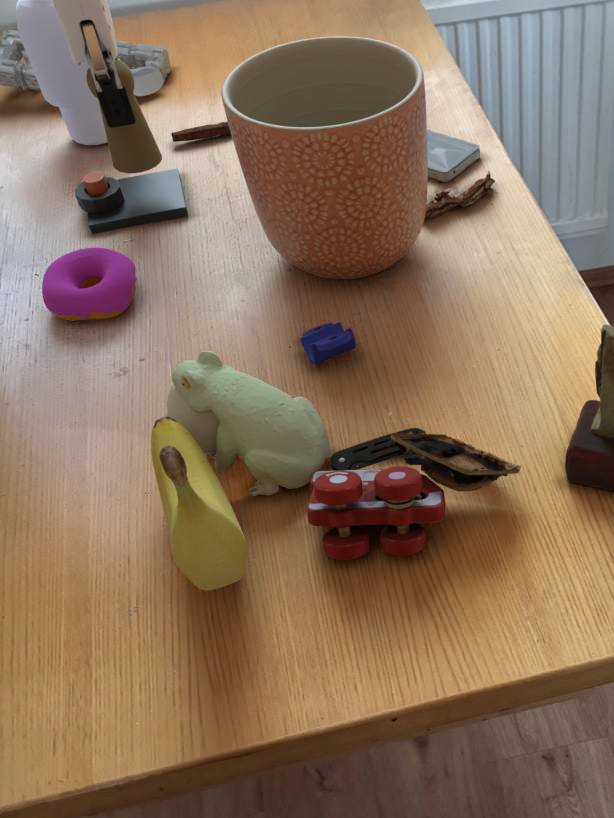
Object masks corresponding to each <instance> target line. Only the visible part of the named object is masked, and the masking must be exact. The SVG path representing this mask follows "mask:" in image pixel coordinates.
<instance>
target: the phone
mask: <svg viewBox="0 0 614 818" xmlns="http://www.w3.org/2000/svg"><path fill="white" fill-rule="evenodd" d="M427 147H428V179H433V180H435V181H438V182H441V183H448V182H450V181H451V180H453V179H454V178H455V177H456V176H458V175H459V174H461V173H462V172H463V171H465V170H466V169H467V168H468V167H470V166H471V165H472V164H473V163H475V162H476V161H477V160H478V159H479V158H480V156H481V148H480V145H479V144H477V143H473V142H471V141H467V140H463V139H460V138H457V137H453V136H450V135H448V134H443V133H440V132H437V131H433V130H431V129H427Z"/></svg>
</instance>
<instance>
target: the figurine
mask: <svg viewBox="0 0 614 818" xmlns="http://www.w3.org/2000/svg"><path fill="white" fill-rule="evenodd" d="M171 380H172V382H171V385H170V388H169V390H168V393H167V399H166V417H168V416H169V417H170V418H172V419H175V420H176V421H178V422H180V423H181V424H182V425H183V426H184V427H185V428H186V429H187V430H188V431H189V432H190V434H191V435H192V436H193V437H194V439H195V440H196V441H197V443H198V444H199V446H200V447H201V449H202V451H203V452H204V454H205V455H210V458H211V460H214V469H215V470H217V471H218V472H221V473H225V472H227V471H229V470H230V469H231V468H232V467H233V465H234V463H235V461H236V458H237V457H238V458H240V460H242V462H244V463H245V464H246V467H247V468H248V470H249V472H250V473H251V474H252V476H253V477H254V479H256V481H255V484H254V486H252V485H251V486H250V488H249V490H250V491H252V492H251V494H250V495H251V496H253V497H256V496H258V495H261V496H272V495H275V494H277V493H278V492H279V490H280V487H283V488H285V489H290V490H291V489H299V488H302V487H303V486H306V485H307V484H308V483H310V480H311V477H312V474H314V473H315V472H318V471H319V470H320V469H321V467H322V466H323V465H324V463H325V461H326V460H327V459H328V457H329V458H330V457H331V453H332V449H331V443H330V439H329V435H328V432H327V430H326V427H325V423H324V422H323V420H322V418H321V416H320V414H319V412H318V410H317V408H316V407H315V406H314V404H313V403H312V402H311V401H310V400H309V399H308V398H306V397H303V396H296V397H294V398H293V396H291V395H289V394H288V393H286V392H285V391H282V390H281V389H279V388H277V387H275V386H273V385H271V384H269V383H267V382H265V381H263V380H261V379H259V378H257V377H254V376H252V375H250V374H248V373H246V372H241V371H238V370H236V369H235V368H234V367H232V366H230V365H226V364H223V362H222V359H221V358H220V355H218V354H217V353H216V352H215V351H212V350H203V351H201V352H200V353H199V354H198V358H197V360H195V359H185V360H182V361H181V362H179V363H178V364H177V365H175V368H174V369H173V371H172V375H171Z"/></svg>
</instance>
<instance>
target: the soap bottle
mask: <svg viewBox="0 0 614 818" xmlns="http://www.w3.org/2000/svg"><path fill="white" fill-rule="evenodd" d="M15 21H16V25H17V26H16V27H17V31H18V33H19V36H20V38H21V41H22V43H23V46H24V48H25V51H26V53H27V56H28V58H29V61H30V63H31V66H32V69H33V71H34V74H35V76H36V79H37V81H38V84H39V86H40V89H41V91H40V92H41V94H42V96H43V99H44V100H45V101H46V102H47V103H49V104H50V105H51V106H52V107H57V108H59V111H60V114H61V116H62V119H63V121H64V124H65V127H66V130H67V131H68V135H69V136H70V138H71V139H72V140H73V141H75V143H77V144H80V145H85V146H98V145H105V144H108V141H107V137H106V132H105V128H104V123H103V119H102V114H101V110H100V105H99V101H98V99H97V98H96V97H95V96H94V95H93V94H92V92H91V90H90V89H89V87H88V84H87V79H86V75H87V70H88V68H89V65H88V61H87V58H86V55H85V61H84V63H81V66H78V65H76V64H75V63H74V62H73V59H72V56H71V53H70V50H69V47H68V44H67V41H66V38H65V35H64V32H63V29H62V26H61V23H60V20H59V17H58V14H57V11H56V8H55V6H54V3H53V0H17V2H16V4H15ZM90 57H91V56H90Z"/></svg>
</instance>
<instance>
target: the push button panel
mask: <svg viewBox="0 0 614 818" xmlns="http://www.w3.org/2000/svg"><path fill="white" fill-rule="evenodd" d="M104 177H105V180H106V183H107V185H108V188H109V189H108V190H107V191H106V192H104V193H102V194H98V195H89V194H88V193H87V190H86V187H85V185H84V182H83V181H82V182H80V183H79V184H78V185H77V186H76V187H75V188H74V196H75V198H76V201H77V204H78V206H79V208H80V210H82V211H83V212H85V213H86V215H87V226H88V228H89V230H90V234H91V235H96V234H102V233H107V232H113V231H117V230H123V229H128V228H133V227H137V226H143V225H148V224H154V223H158V222H164V221H170V220H174V219H179V218H185V217H189V211H188V206H187V201H186V197H185V193H184V192H185V191H184V188H183V184H182V183H183V182H182V178H181V174H180V171H179V168H172V169H167V170H161V171H156V172H150V173H145V174H144V173H143V174H139V175H133V176H129V177H122V178H114V177H113V176H104Z"/></svg>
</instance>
